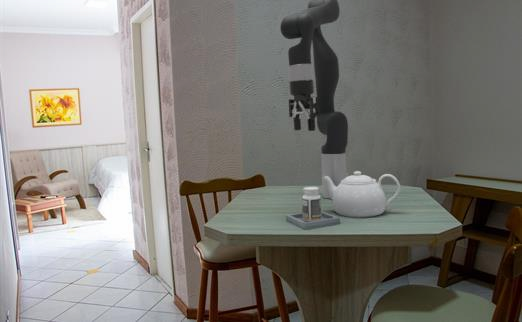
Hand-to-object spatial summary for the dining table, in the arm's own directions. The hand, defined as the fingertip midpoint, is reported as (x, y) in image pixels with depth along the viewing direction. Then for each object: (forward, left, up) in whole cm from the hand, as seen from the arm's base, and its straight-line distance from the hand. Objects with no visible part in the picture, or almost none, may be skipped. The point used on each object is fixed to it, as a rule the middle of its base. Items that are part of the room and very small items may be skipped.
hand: (304, 130), depth 137 cm
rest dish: (+4, +10, -28) cm, 30 cm away
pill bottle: (+4, +10, -27) cm, 29 cm away
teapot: (-16, +7, -28) cm, 33 cm away
